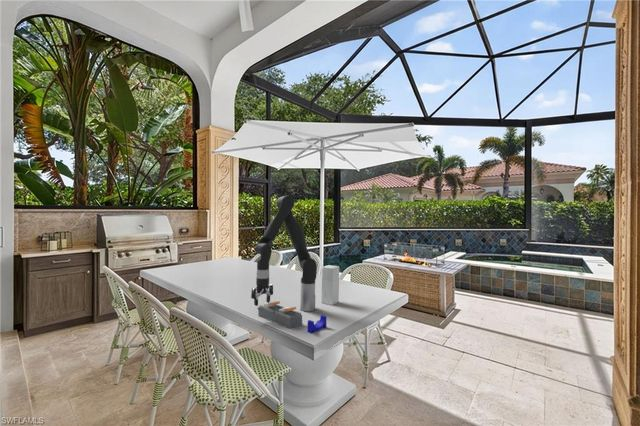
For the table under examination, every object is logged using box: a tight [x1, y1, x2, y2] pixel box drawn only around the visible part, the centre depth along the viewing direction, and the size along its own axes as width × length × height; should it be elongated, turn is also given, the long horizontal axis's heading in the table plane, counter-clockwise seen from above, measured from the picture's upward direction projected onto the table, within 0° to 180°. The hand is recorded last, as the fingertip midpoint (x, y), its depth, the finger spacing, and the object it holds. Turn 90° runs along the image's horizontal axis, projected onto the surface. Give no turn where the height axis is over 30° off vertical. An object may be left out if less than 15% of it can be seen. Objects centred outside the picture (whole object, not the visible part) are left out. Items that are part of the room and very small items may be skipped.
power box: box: [257, 304, 303, 329], centre depth 178 cm, size 34×9×6 cm, turn 48°
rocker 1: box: [263, 301, 281, 306], centre depth 180 cm, size 9×5×1 cm, turn 48°
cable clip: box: [307, 314, 328, 334], centre depth 163 cm, size 12×4×6 cm, turn 139°
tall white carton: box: [321, 264, 340, 306], centre depth 210 cm, size 9×9×25 cm
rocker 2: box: [279, 306, 297, 311], centre depth 171 cm, size 9×5×1 cm, turn 48°
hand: (262, 303), depth 180 cm, fingers open, 8 cm apart
